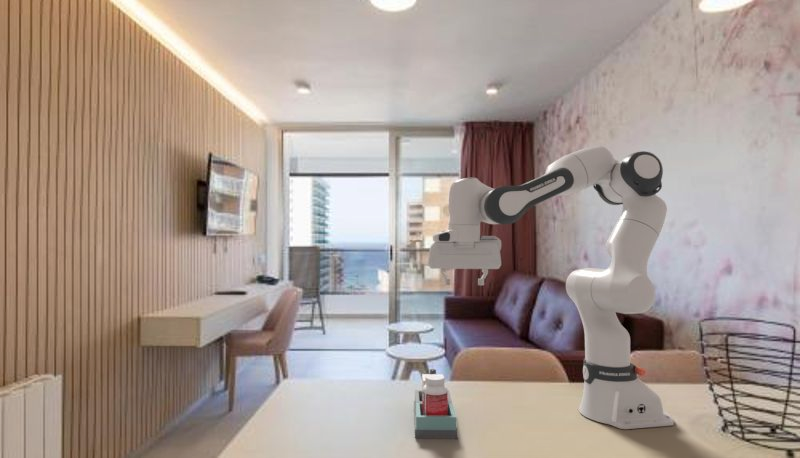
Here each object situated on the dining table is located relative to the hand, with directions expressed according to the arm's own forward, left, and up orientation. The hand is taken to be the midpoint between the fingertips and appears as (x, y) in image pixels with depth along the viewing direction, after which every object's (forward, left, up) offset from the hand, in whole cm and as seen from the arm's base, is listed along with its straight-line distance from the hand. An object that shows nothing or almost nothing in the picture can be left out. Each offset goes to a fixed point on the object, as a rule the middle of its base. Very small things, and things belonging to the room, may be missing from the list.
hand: (464, 285), depth 124 cm
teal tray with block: (+9, +10, -34) cm, 37 cm away
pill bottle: (+9, +15, -32) cm, 37 cm away
